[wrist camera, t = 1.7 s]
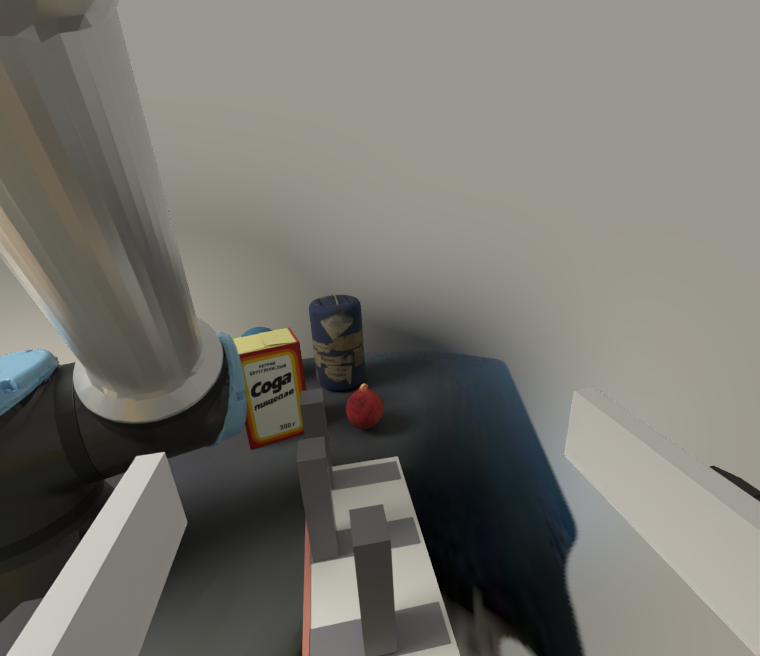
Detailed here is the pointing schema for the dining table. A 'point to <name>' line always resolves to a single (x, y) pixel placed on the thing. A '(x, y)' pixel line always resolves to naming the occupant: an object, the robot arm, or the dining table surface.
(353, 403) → the pomegranate
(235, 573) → the dining table surface
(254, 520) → the dining table surface
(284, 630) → the dining table surface
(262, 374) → the baking soda box
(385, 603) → the block
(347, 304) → the dark blue cylinder
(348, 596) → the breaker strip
